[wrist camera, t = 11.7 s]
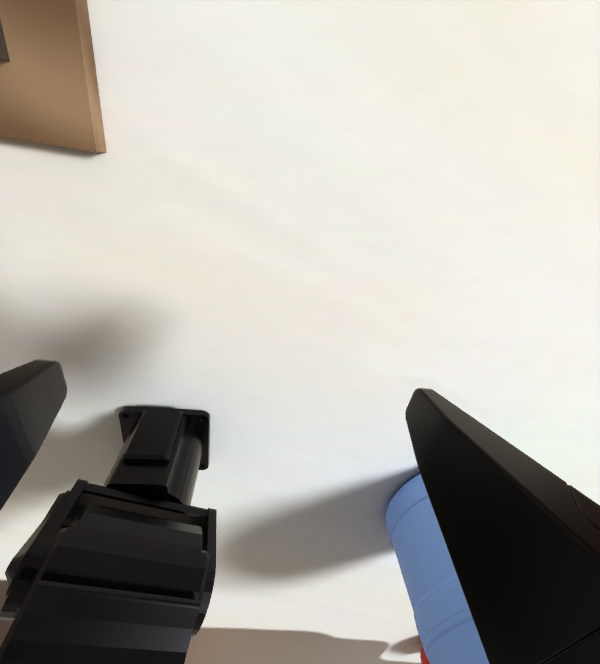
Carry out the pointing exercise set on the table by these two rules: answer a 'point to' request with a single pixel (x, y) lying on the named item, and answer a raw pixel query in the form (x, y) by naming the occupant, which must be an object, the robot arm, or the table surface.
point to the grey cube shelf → (3, 46)
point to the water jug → (431, 579)
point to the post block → (50, 75)
